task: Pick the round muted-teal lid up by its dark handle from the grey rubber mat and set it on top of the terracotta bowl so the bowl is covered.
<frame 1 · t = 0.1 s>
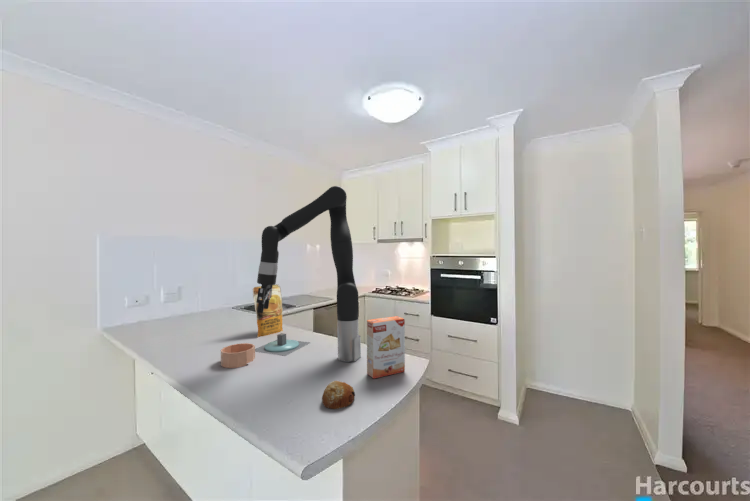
hand: (262, 310, 127), 22 cm above the counter, tool pointing down, fingers open, 8 cm apart
lid: (281, 346, 146), point 1 cm above the counter, touching mat
pancake mix bag: (269, 334, 170), on the counter
bowl: (238, 361, 129), on the counter
bread roll: (338, 401, 94), on the counter
cracker box: (386, 373, 115), on the counter
mat: (282, 348, 146), on the counter
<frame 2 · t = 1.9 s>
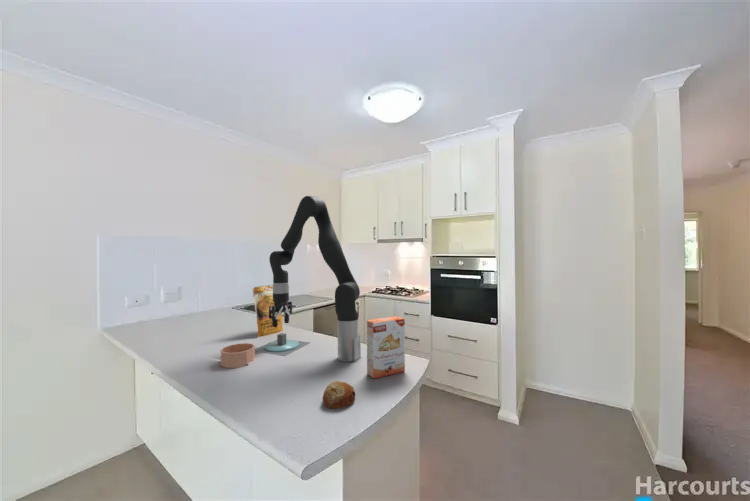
hand: (281, 324, 146), 11 cm above the counter, tool pointing down, fingers open, 8 cm apart
nothing on the counter moved.
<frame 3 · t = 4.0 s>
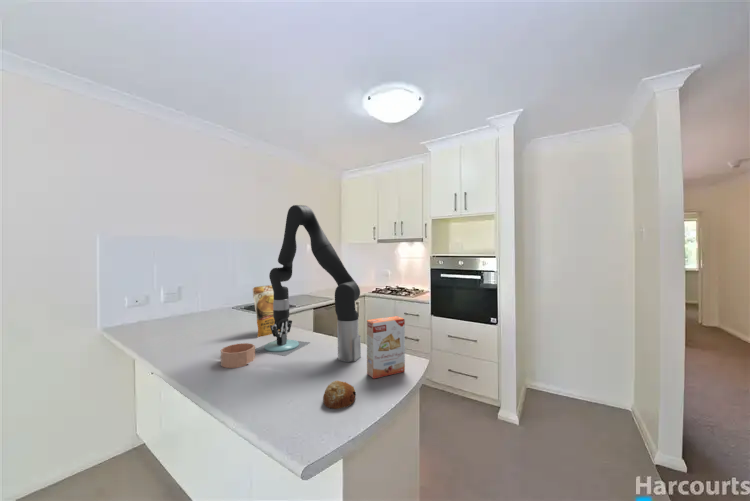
hand: (281, 343, 146), 2 cm above the counter, tool pointing down, fingers closed on lid, 3 cm apart
lid: (281, 346, 146), point 1 cm above the counter, touching gripper, mat
everything else where it was.
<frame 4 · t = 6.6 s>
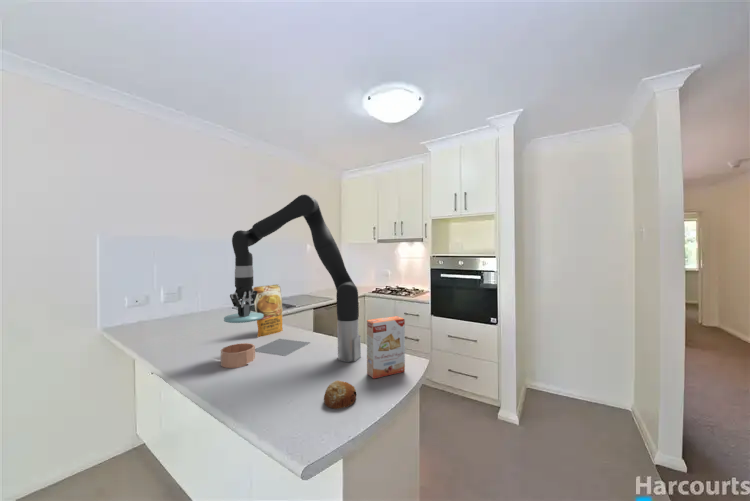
hand: (244, 314, 132), 20 cm above the counter, tool pointing down, fingers closed on lid, 3 cm apart
lid: (244, 318, 132), point 18 cm above the counter, touching gripper
everything else where it was.
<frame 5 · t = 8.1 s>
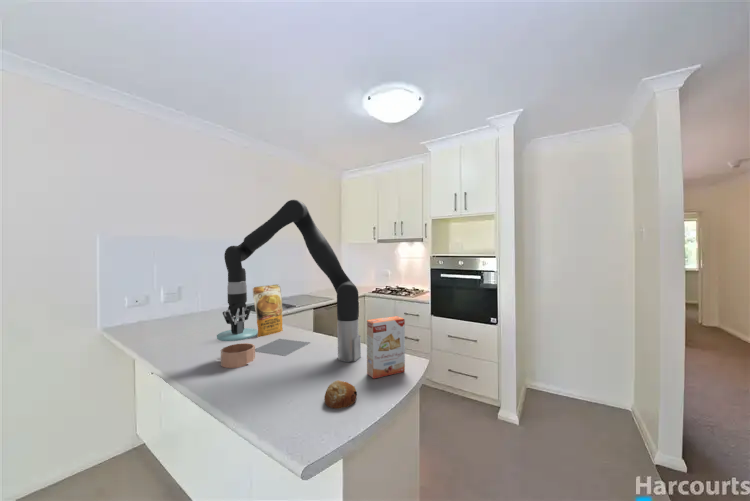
hand: (237, 331, 129), 13 cm above the counter, tool pointing down, fingers closed on lid, 3 cm apart
lid: (237, 335, 129), point 11 cm above the counter, touching gripper
everything else where it was.
when the fingers open (9 cm above the counter, at t = 9.5 s): lid drops 1 cm, resting on bowl.
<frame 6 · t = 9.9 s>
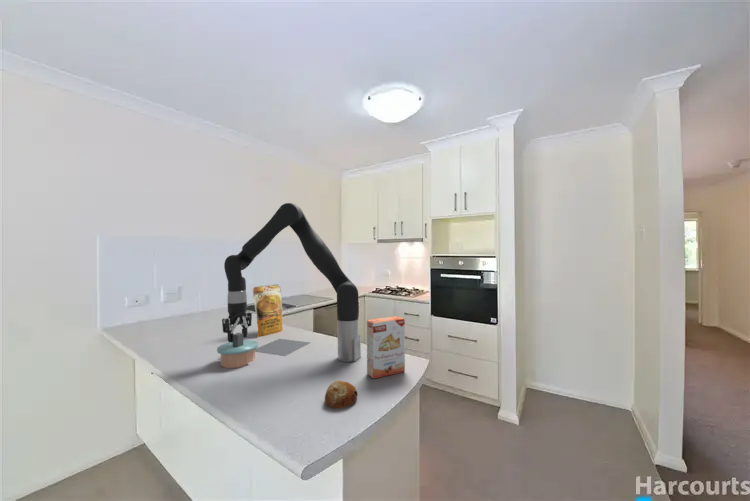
hand: (238, 339, 129), 10 cm above the counter, tool pointing down, fingers open, 6 cm apart
lid: (238, 348, 129), point 6 cm above the counter, touching bowl
bowl: (238, 361, 129), on the counter, touching lid
everything else where it was.
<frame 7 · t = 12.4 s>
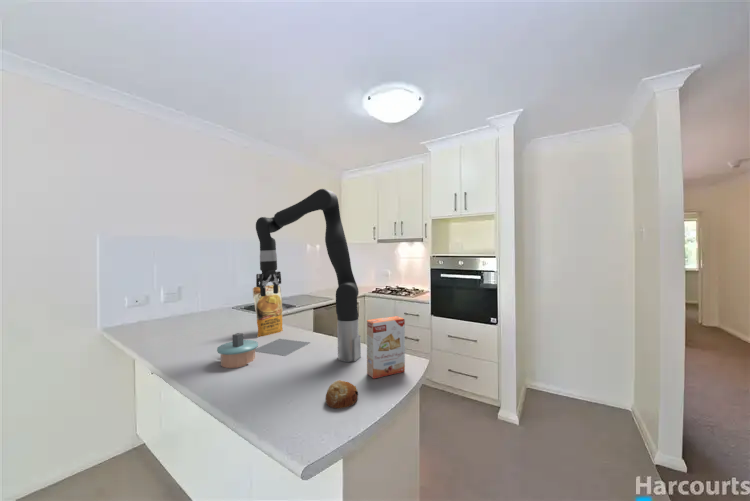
hand: (269, 294, 140), 27 cm above the counter, tool pointing down, fingers open, 8 cm apart
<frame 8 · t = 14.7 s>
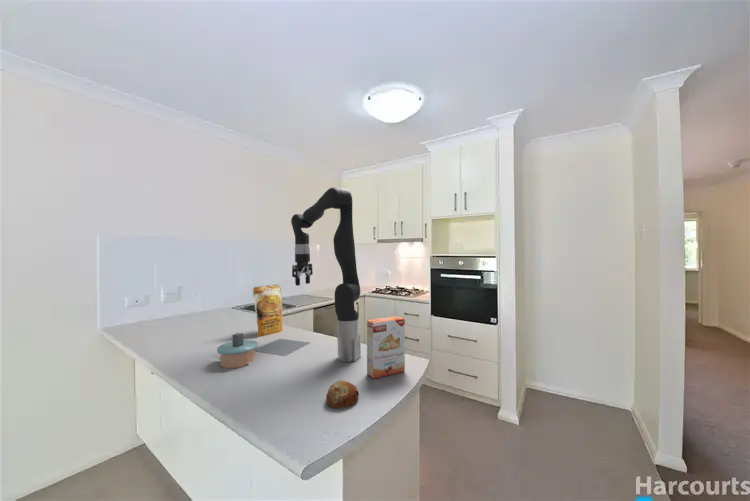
hand: (302, 284, 154), 30 cm above the counter, tool pointing down, fingers open, 8 cm apart
at the end: lid 0.0 cm from the bowl (horizontally); lid point 6.0 cm above the counter; lid tilted 0° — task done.
